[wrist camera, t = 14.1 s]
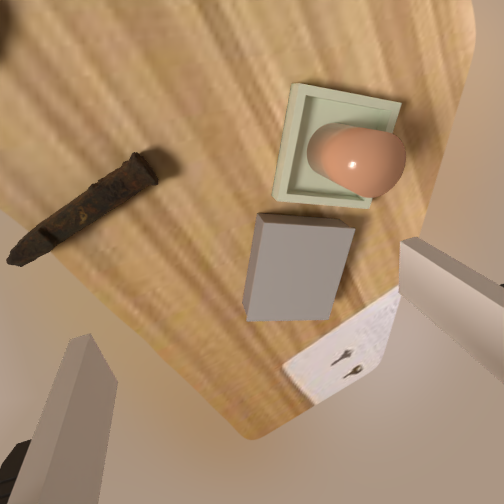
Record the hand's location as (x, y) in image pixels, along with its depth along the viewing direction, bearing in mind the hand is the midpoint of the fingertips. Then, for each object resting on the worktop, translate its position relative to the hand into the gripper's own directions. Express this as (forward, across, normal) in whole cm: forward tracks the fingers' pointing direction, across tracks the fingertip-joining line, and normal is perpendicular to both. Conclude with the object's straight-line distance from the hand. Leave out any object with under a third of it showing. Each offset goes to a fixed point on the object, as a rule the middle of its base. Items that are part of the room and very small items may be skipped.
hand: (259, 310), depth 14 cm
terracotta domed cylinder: (+28, +16, -2) cm, 33 cm away
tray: (+29, +16, -2) cm, 33 cm away
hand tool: (+29, -14, -2) cm, 32 cm away
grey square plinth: (+29, +9, -16) cm, 34 cm away
